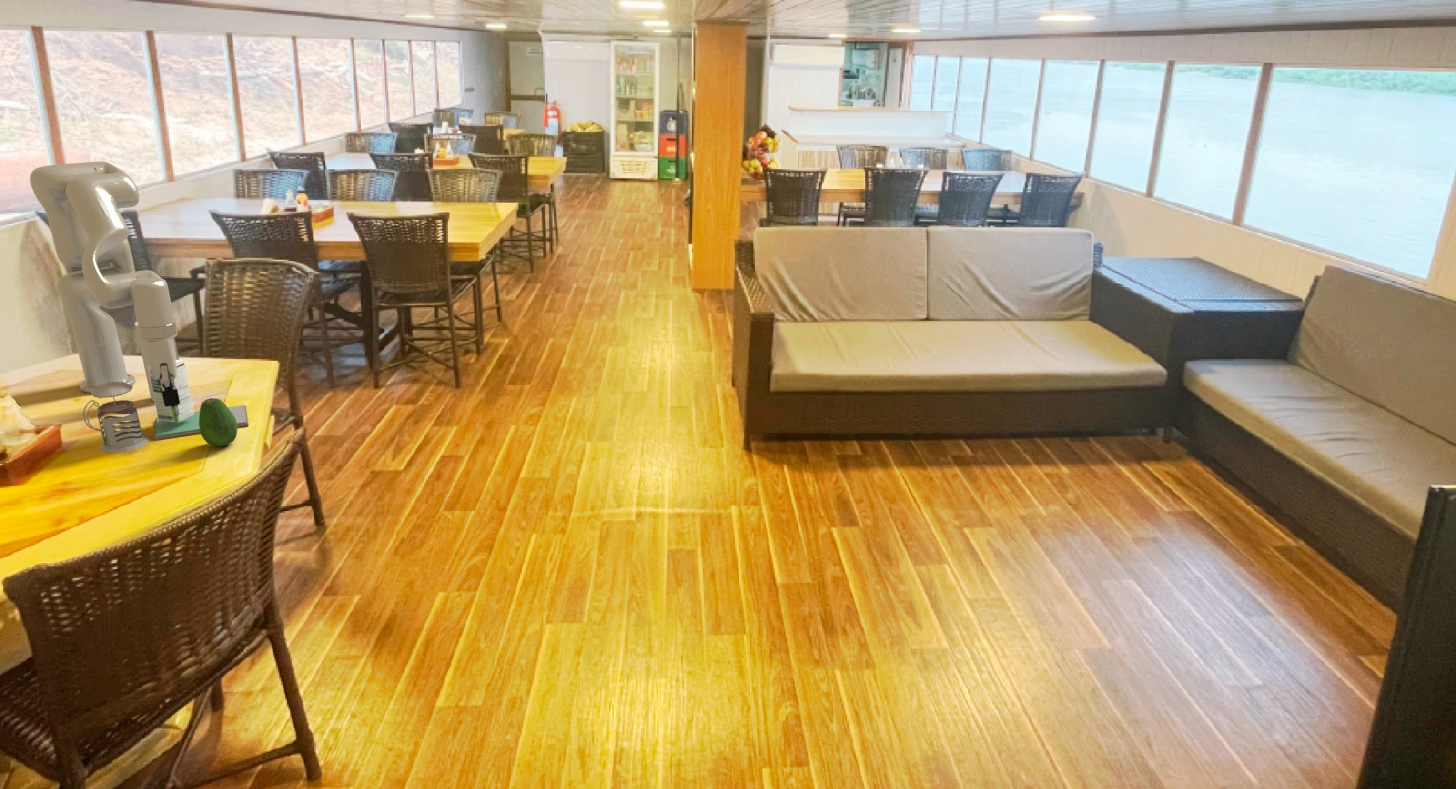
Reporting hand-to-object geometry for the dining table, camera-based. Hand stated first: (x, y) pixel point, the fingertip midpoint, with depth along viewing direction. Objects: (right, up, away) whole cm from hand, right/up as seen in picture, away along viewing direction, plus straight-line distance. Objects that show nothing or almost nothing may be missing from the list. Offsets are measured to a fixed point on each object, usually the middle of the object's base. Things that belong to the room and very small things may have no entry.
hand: (172, 398), depth 220 cm
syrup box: (0, -5, +2) cm, 5 cm away
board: (+4, -6, +5) cm, 9 cm away
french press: (-8, -11, -7) cm, 15 cm away
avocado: (+15, -11, -6) cm, 20 cm away
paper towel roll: (-13, 0, +18) cm, 22 cm away
